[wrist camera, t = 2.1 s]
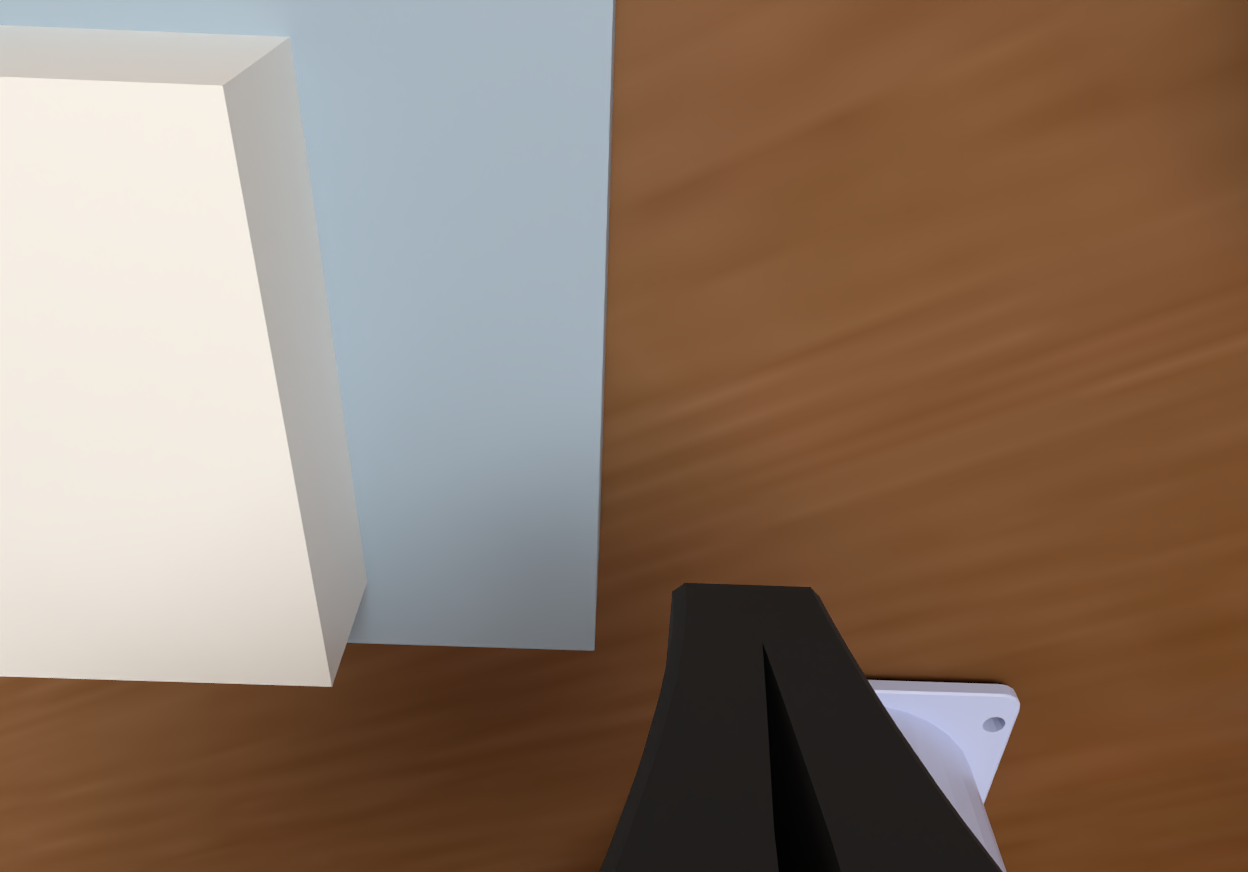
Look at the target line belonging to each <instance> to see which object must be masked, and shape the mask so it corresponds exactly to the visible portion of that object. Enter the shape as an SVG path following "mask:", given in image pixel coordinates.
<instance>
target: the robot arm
mask: <svg viewBox="0 0 1248 872" xmlns="http://www.w3.org/2000/svg"><path fill="white" fill-rule="evenodd" d="M1019 710H1020V702H1019V700H1018V698H1017V695H1016V693H1015V691H1014V690H1013V689H1012V688H1011V687H1009V686H1007V685H1002V684H982V683H951V682H920V681H889V680H867V678H866V677H865V675H864V673H863V672H862V670H861V668H860V667H859V665H858V664H857V662H856V660H855V659H854V657H853V655H852V654H851V652H850V650H849V649H848V647H847V645H846V643H845V642H844V640H843V638H842V637H841V635H840V633H839V631H838V630H837V628H836V626H835V624H834V623H833V621H832V619H831V617H830V615H829V614H828V612H827V610H826V608H825V606H824V604H823V603H822V601H821V599H820V597H819V596H818V595H817V594H816V593H815V592H814V591H813V590H812V589H811V588H810V587H788V586H758V585H728V584H698V583H684V584H683V585H682V586H680V587H679V588H677V589H676V590H674V591H673V592H672V603H671V615H670V627H669V638H668V650H667V662H666V670H665V674H664V679H663V684H662V688H661V693H660V697H659V700H658V704H657V707H656V710H655V714H654V717H653V721H652V724H651V728H650V731H649V735H648V738H647V742H646V745H645V749H644V752H643V756H642V759H641V762H640V765H639V768H638V771H637V774H636V777H635V779H634V782H633V785H632V788H631V790H630V793H629V796H628V798H627V801H626V804H625V807H624V809H623V812H622V815H621V817H620V820H619V823H618V826H617V828H616V831H615V834H614V836H613V839H612V842H611V845H610V847H609V850H608V852H607V855H606V857H605V860H604V862H603V865H602V867H601V869H600V872H1006V869H1005V866H1004V863H1003V860H1002V857H1001V855H1000V852H999V849H998V846H997V843H996V840H995V837H994V834H993V831H992V828H991V825H990V823H989V820H988V817H987V814H986V811H985V808H984V802H985V799H986V797H987V794H988V791H989V789H990V786H991V783H992V781H993V778H994V776H995V773H996V770H997V768H998V765H999V762H1000V760H1001V757H1002V754H1003V752H1004V749H1005V747H1006V744H1007V741H1008V739H1009V736H1010V733H1011V731H1012V728H1013V725H1014V723H1015V720H1016V718H1017V715H1018V712H1019ZM989 718H990V719H989Z"/></svg>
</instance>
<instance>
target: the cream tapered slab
mask: <svg viewBox="0 0 1248 872" xmlns="http://www.w3.org/2000/svg"><path fill="white" fill-rule="evenodd" d="M366 584H367V577H366V570H365V563H364V556H363V549H362V542H361V535H360V528H359V521H358V514H357V507H356V499H355V492H354V485H353V478H352V471H351V464H350V457H349V450H348V443H347V436H346V429H345V422H344V415H343V408H342V401H341V393H340V386H339V379H338V372H337V365H336V358H335V351H334V344H333V337H332V330H331V323H330V316H329V309H328V302H327V294H326V287H325V280H324V273H323V266H322V259H321V252H320V245H319V238H318V231H317V224H316V217H315V210H314V203H313V196H312V188H311V181H310V174H309V167H308V160H307V153H306V146H305V139H304V132H303V125H302V118H301V111H300V104H299V97H298V90H297V82H296V75H295V68H294V61H293V54H292V47H291V40H290V37H280V36H256V35H231V34H207V33H182V32H158V31H133V30H109V29H84V28H60V27H35V26H11V25H0V676H8V677H39V678H71V679H102V680H134V681H165V682H196V683H228V684H259V685H291V686H322V687H332V685H333V682H334V679H335V676H336V673H337V670H338V667H339V664H340V661H341V658H342V655H343V652H344V650H345V647H346V644H347V641H348V638H349V635H350V632H351V629H352V626H353V623H354V620H355V617H356V614H357V611H358V608H359V605H360V602H361V599H362V596H363V593H364V590H365V587H366Z"/></svg>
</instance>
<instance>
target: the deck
mask: <svg viewBox="0 0 1248 872" xmlns="http://www.w3.org/2000/svg"><path fill="white" fill-rule="evenodd" d="M615 12H616V0H0V25H11V26H35V27H60V28H84V29H109V30H133V31H158V32H182V33H207V34H231V35H256V36H280V37H290V40H291V47H292V54H293V61H294V68H295V75H296V82H297V90H298V97H299V104H300V111H301V118H302V125H303V132H304V139H305V146H306V153H307V160H308V167H309V174H310V181H311V188H312V196H313V203H314V210H315V217H316V224H317V231H318V238H319V245H320V252H321V259H322V266H323V273H324V280H325V287H326V294H327V302H328V309H329V316H330V323H331V330H332V337H333V344H334V351H335V358H336V365H337V372H338V379H339V386H340V393H341V401H342V408H343V415H344V422H345V429H346V436H347V443H348V450H349V457H350V464H351V471H352V478H353V485H354V492H355V499H356V507H357V514H358V521H359V528H360V535H361V542H362V549H363V556H364V563H365V570H366V577H367V584H366V587H365V590H364V593H363V596H362V599H361V602H360V605H359V608H358V611H357V614H356V617H355V620H354V623H353V626H352V629H351V632H350V635H349V638H348V641H347V643H371V644H402V645H433V646H464V647H494V648H525V649H556V650H587V651H594V648H595V626H596V604H597V582H598V560H599V538H600V508H601V475H602V442H603V409H604V376H605V343H606V310H607V277H608V244H609V211H610V178H611V145H612V112H613V79H614V46H615Z"/></svg>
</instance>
